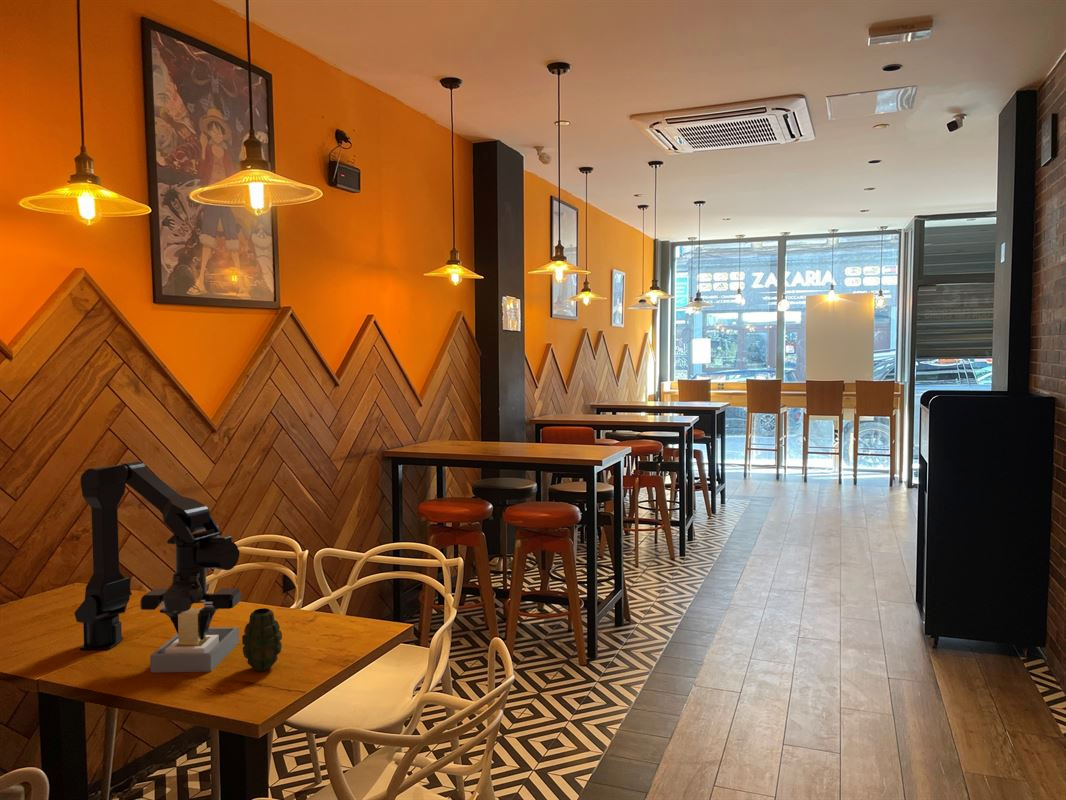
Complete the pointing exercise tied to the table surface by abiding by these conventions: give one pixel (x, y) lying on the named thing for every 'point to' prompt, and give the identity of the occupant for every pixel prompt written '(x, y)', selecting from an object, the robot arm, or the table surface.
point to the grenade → (262, 640)
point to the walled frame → (195, 652)
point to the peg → (190, 628)
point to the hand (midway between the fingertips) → (192, 639)
